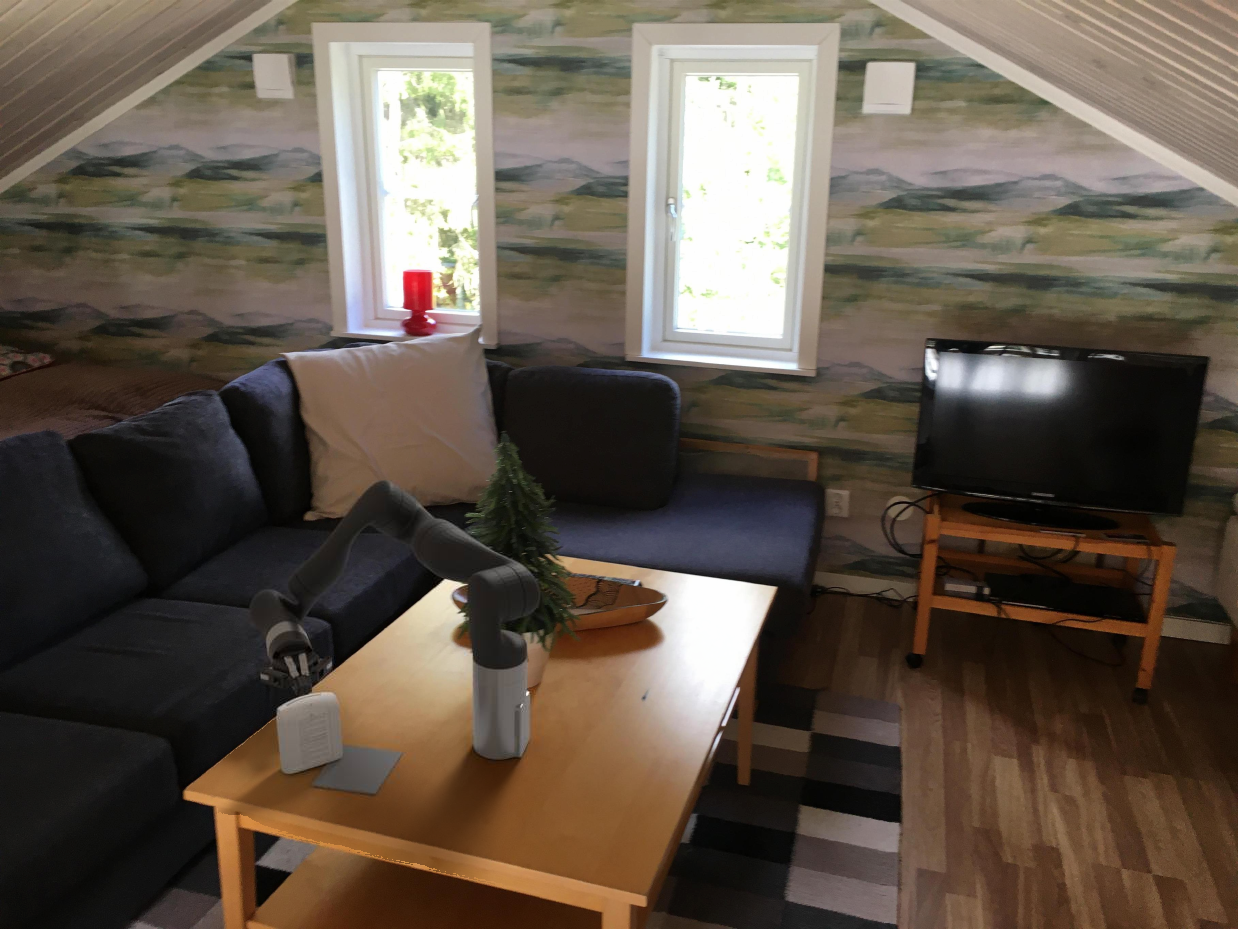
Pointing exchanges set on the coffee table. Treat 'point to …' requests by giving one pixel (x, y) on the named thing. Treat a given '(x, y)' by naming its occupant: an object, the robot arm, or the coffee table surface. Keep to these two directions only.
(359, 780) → the mat
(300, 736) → the photo printer
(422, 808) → the coffee table surface
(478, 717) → the robot arm
